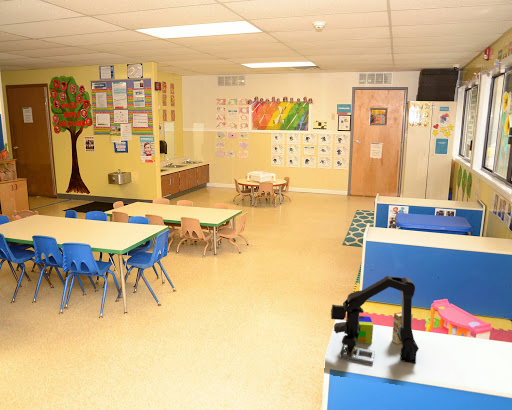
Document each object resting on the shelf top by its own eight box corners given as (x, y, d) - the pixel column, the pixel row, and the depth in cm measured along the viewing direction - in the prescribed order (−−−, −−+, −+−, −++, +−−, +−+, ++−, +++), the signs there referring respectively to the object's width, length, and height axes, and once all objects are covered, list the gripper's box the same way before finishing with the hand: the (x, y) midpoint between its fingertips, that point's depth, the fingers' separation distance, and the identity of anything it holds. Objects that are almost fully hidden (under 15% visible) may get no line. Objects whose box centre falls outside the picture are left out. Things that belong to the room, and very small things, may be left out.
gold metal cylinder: (355, 351, 207) (356, 339, 206) (354, 355, 203) (355, 344, 202) (346, 349, 209) (347, 338, 208) (345, 353, 205) (345, 342, 204)
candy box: (397, 344, 217) (399, 316, 214) (391, 340, 221) (393, 312, 218) (410, 341, 220) (413, 313, 218) (405, 337, 224) (407, 310, 221)
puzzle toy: (368, 334, 227) (370, 316, 225) (371, 343, 218) (373, 325, 216) (349, 332, 228) (350, 315, 226) (351, 342, 219) (353, 324, 217)
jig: (374, 354, 207) (375, 347, 206) (372, 364, 198) (373, 357, 197) (343, 348, 212) (344, 341, 212) (340, 358, 203) (340, 350, 202)
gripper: (339, 309, 214) (337, 338, 217) (332, 325, 197) (330, 356, 200) (361, 313, 210) (359, 342, 213) (356, 329, 193) (354, 361, 196)
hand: (350, 350), depth 206 cm, fingers closed on gold metal cylinder, 4 cm apart
